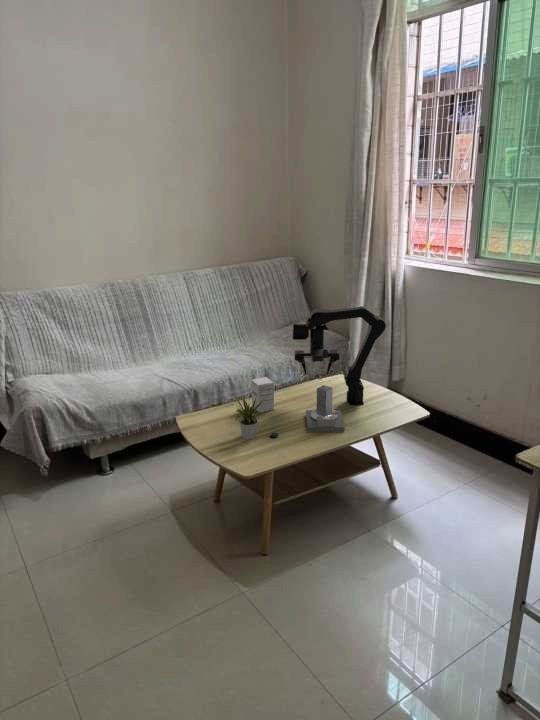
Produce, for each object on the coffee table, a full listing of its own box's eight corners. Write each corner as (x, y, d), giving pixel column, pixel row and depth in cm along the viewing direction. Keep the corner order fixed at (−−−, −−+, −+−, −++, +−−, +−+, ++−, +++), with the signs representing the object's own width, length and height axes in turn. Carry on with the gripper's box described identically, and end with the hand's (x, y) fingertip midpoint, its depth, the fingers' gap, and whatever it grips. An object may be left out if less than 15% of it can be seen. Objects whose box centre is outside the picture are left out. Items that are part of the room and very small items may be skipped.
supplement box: (251, 406, 240) (250, 379, 236) (267, 403, 243) (266, 376, 239) (258, 413, 234) (257, 385, 230) (274, 409, 237) (274, 382, 232)
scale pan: (336, 410, 230) (336, 407, 230) (339, 422, 220) (339, 419, 219) (309, 410, 230) (309, 408, 230) (311, 422, 220) (311, 419, 219)
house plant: (220, 439, 211) (218, 399, 206) (238, 425, 223) (237, 387, 217) (253, 447, 205) (251, 406, 200) (270, 432, 216) (270, 393, 211)
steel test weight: (322, 410, 227) (323, 385, 224) (332, 413, 225) (332, 387, 221) (316, 413, 224) (316, 388, 221) (325, 416, 222) (326, 391, 218)
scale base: (339, 414, 231) (340, 402, 229) (344, 431, 216) (344, 419, 214) (306, 414, 231) (306, 402, 230) (308, 432, 216) (308, 419, 214)
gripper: (295, 345, 227) (295, 381, 232) (341, 345, 226) (340, 381, 232) (294, 337, 237) (294, 372, 242) (338, 337, 237) (337, 371, 242)
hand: (316, 374), depth 239 cm, fingers open, 9 cm apart
